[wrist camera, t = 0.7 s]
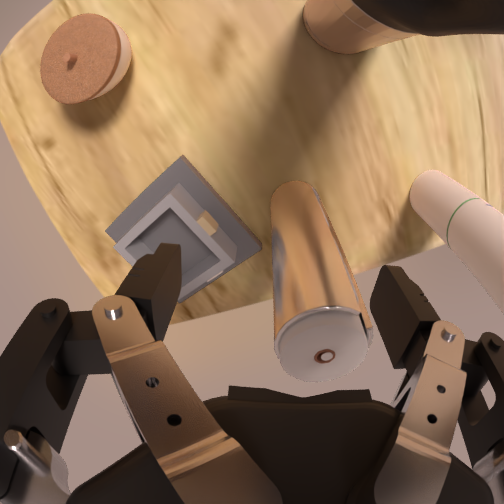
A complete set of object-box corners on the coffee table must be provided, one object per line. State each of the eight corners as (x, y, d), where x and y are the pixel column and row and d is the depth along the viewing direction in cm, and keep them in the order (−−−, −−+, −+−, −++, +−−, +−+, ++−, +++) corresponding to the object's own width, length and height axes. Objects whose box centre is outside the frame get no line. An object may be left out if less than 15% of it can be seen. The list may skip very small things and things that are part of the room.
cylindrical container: (440, 221, 39) (540, 337, 17) (402, 210, 39) (503, 338, 17) (456, 177, 35) (577, 274, 14) (418, 163, 35) (548, 263, 14)
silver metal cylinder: (322, 222, 40) (372, 377, 19) (274, 229, 41) (281, 391, 20) (317, 176, 37) (382, 309, 16) (266, 184, 38) (266, 327, 16)
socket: (183, 154, 36) (170, 165, 32) (261, 243, 42) (261, 265, 38) (109, 226, 42) (92, 244, 37) (181, 297, 48) (173, 320, 43)
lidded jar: (118, 111, 33) (80, 121, 25) (63, 81, 31) (19, 87, 23) (160, 39, 29) (129, 27, 21) (98, 13, 26) (58, 2, 18)
